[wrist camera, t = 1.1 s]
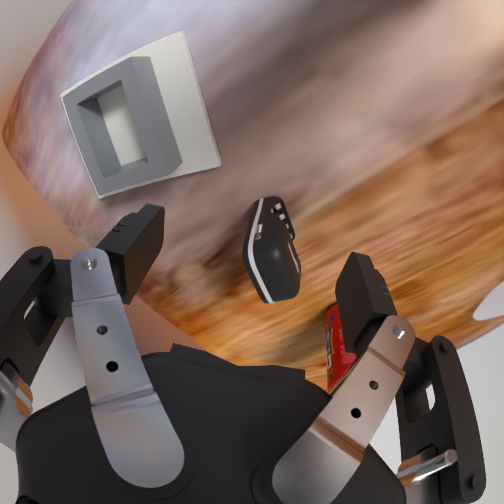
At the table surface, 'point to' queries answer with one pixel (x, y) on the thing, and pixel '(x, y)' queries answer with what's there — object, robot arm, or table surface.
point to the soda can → (335, 348)
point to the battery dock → (176, 105)
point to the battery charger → (272, 252)
